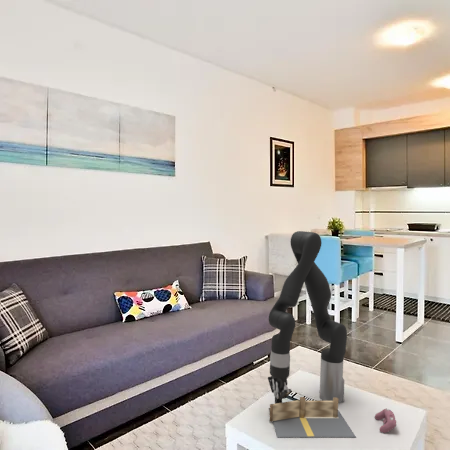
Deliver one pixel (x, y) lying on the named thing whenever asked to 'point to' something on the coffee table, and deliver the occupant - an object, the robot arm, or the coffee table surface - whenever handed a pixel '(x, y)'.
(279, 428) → the card
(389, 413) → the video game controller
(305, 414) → the wooden toy fence
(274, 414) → the fence panel
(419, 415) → the coffee table surface
